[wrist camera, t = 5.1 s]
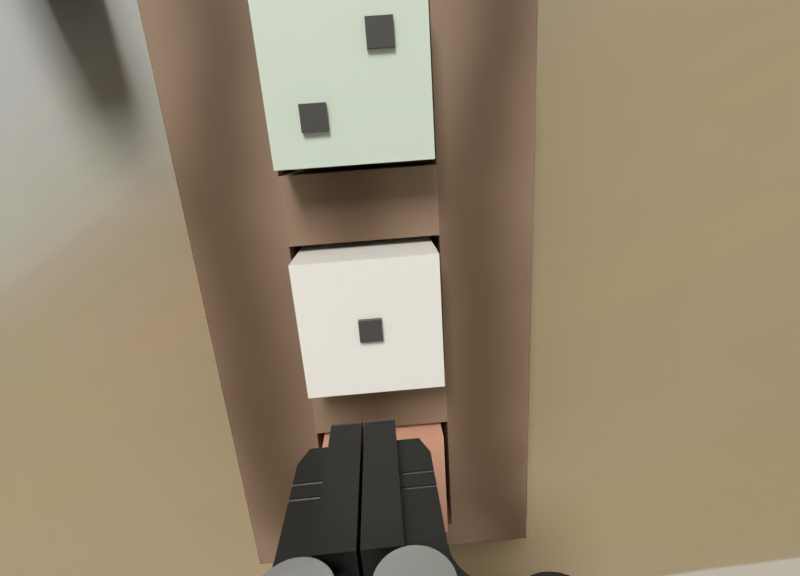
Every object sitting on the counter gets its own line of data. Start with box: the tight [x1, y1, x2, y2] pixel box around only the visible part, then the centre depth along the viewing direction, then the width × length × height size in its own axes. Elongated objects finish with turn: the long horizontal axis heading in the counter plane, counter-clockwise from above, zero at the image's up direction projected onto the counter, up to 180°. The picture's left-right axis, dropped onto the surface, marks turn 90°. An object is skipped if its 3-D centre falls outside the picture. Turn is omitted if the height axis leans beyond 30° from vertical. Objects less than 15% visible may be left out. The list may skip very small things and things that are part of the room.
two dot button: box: [248, 0, 435, 171], centre depth 16 cm, size 6×6×4 cm
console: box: [137, 0, 538, 564], centre depth 22 cm, size 14×27×5 cm, turn 4°
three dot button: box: [322, 422, 448, 532], centre depth 23 cm, size 6×6×4 cm
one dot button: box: [288, 236, 445, 398], centre depth 19 cm, size 6×6×4 cm
